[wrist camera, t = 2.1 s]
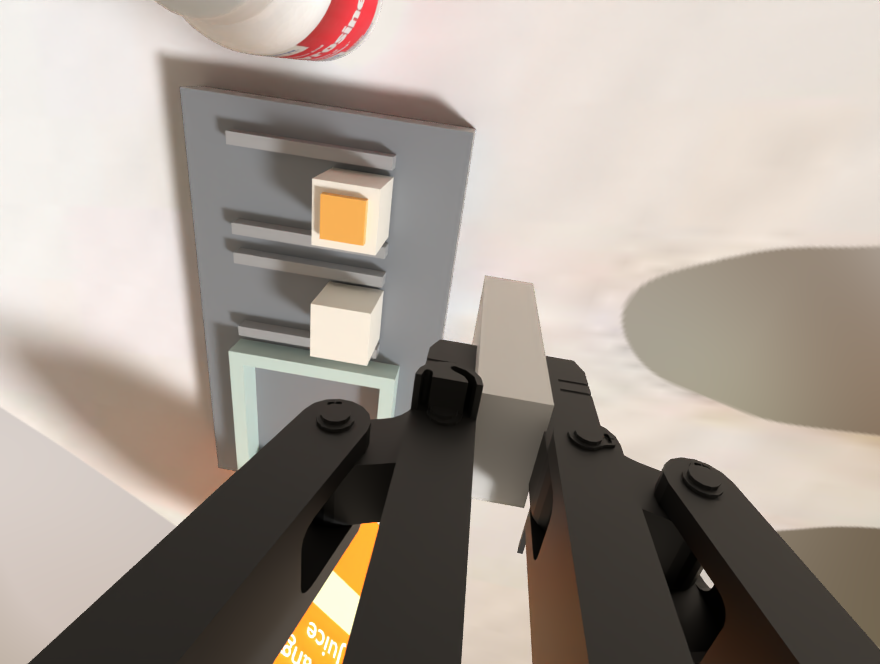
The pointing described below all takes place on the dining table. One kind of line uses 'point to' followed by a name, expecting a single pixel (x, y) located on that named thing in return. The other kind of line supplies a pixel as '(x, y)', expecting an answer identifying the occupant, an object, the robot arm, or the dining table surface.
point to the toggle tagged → (351, 210)
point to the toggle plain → (345, 323)
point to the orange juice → (332, 608)
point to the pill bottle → (282, 25)
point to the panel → (312, 254)
